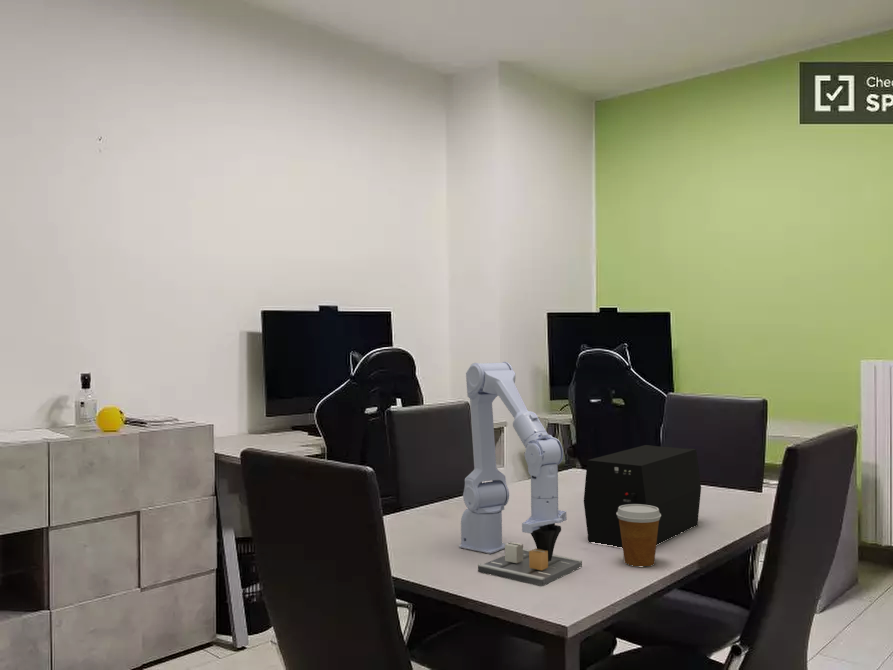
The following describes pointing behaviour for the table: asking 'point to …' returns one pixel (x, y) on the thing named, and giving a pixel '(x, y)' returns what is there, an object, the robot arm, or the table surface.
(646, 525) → the disposable coffee cup
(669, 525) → the uninterruptible power supply
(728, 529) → the table surface
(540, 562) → the block
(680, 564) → the table surface
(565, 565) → the fader board
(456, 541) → the table surface
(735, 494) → the table surface
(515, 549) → the fader
